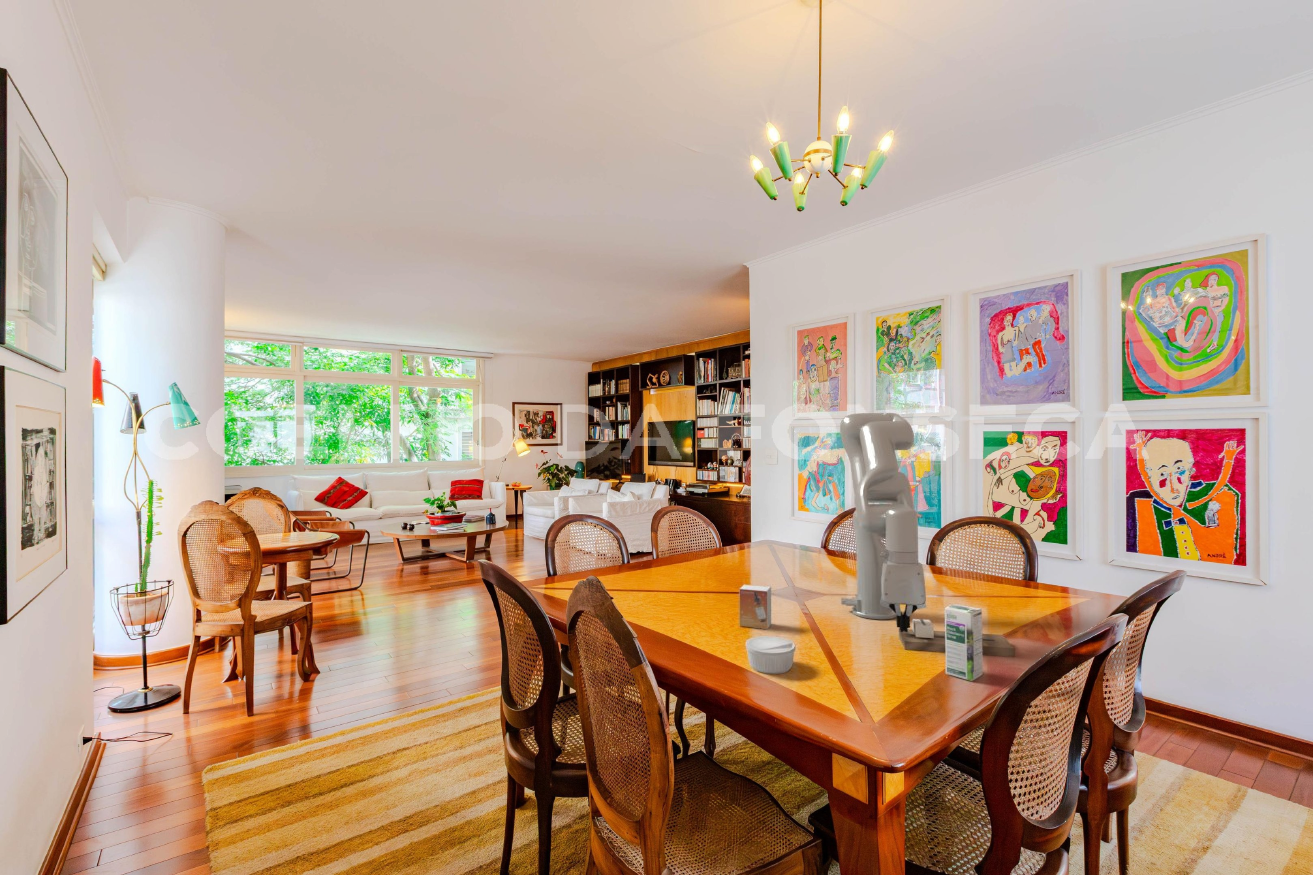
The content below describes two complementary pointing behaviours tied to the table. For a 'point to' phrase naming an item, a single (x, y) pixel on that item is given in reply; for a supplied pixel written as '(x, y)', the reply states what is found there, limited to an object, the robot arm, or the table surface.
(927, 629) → the fader knob
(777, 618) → the table surface
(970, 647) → the syrup box
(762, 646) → the ramekin
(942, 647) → the fader board
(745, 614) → the small box
